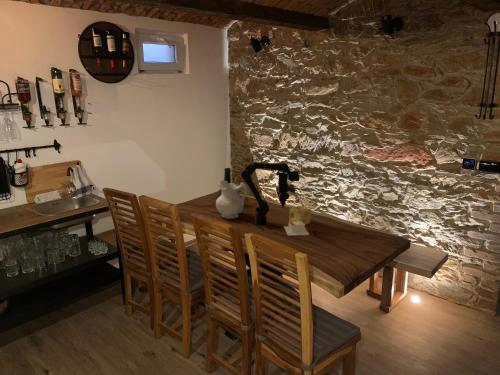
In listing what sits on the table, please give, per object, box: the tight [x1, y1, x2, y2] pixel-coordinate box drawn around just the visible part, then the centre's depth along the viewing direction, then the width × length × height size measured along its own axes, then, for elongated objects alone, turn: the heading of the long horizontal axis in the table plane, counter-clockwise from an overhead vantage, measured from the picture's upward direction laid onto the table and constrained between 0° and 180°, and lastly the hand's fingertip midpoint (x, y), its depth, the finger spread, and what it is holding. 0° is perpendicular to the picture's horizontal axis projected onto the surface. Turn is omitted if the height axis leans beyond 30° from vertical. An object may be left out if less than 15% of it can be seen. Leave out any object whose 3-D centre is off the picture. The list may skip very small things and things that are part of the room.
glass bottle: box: [215, 167, 240, 201], centre depth 291 cm, size 18×18×28 cm
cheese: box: [288, 205, 312, 226], centre depth 257 cm, size 10×11×10 cm
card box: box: [288, 221, 306, 232], centre depth 243 cm, size 8×6×5 cm, turn 105°
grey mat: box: [283, 225, 310, 237], centre depth 243 cm, size 13×14×1 cm
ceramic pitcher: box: [215, 179, 248, 220], centre depth 267 cm, size 22×20×25 cm
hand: (282, 204), depth 256 cm, fingers open, 9 cm apart
